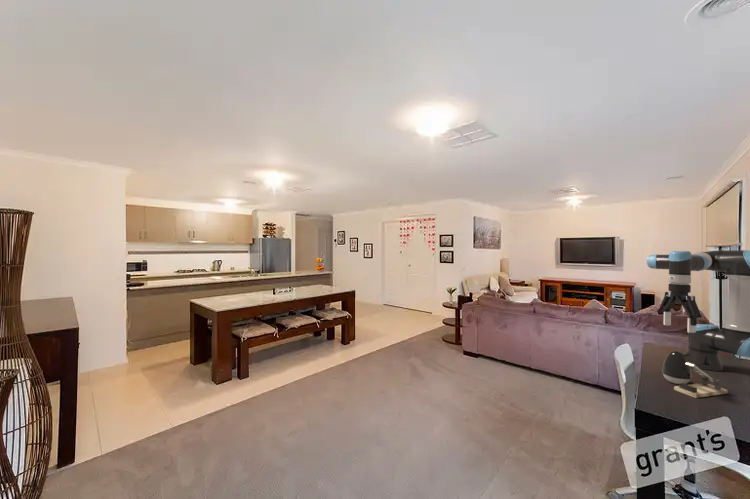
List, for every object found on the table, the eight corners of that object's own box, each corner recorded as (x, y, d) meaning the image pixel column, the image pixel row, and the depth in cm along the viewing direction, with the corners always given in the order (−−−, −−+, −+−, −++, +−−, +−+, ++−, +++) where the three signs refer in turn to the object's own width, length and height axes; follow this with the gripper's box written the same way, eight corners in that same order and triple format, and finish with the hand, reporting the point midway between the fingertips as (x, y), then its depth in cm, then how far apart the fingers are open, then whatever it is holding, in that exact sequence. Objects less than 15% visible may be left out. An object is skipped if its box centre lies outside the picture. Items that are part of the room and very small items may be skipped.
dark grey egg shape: (697, 388, 145) (698, 355, 145) (671, 385, 147) (672, 353, 147) (681, 379, 155) (681, 348, 155) (656, 377, 157) (657, 346, 157)
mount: (704, 385, 147) (704, 374, 147) (727, 393, 140) (727, 381, 140) (674, 389, 142) (674, 377, 142) (695, 397, 135) (696, 385, 135)
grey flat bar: (707, 380, 144) (708, 378, 145) (716, 383, 141) (717, 381, 142) (684, 364, 141) (685, 362, 141) (693, 367, 138) (694, 364, 138)
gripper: (650, 280, 160) (650, 322, 160) (694, 286, 136) (693, 335, 136) (666, 281, 159) (666, 322, 159) (713, 287, 135) (712, 336, 135)
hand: (678, 328), depth 147 cm, fingers open, 13 cm apart
